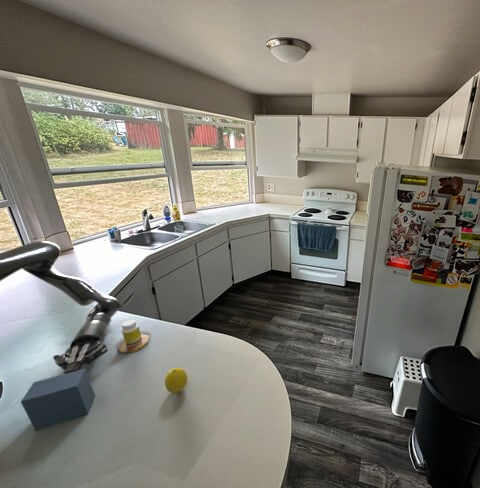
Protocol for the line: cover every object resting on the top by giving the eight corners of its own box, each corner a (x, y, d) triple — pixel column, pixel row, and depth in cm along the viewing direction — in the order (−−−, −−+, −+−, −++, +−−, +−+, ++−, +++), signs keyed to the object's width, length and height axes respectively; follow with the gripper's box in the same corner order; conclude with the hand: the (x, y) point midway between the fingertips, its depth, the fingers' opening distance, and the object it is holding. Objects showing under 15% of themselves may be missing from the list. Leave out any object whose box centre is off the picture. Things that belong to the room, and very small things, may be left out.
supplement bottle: (144, 340, 91) (139, 321, 88) (129, 348, 87) (124, 328, 84) (137, 335, 93) (132, 317, 90) (123, 343, 89) (117, 323, 87)
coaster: (115, 356, 85) (115, 354, 84) (121, 339, 92) (121, 338, 92) (147, 348, 89) (147, 346, 88) (150, 333, 96) (150, 331, 96)
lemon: (162, 396, 72) (157, 375, 69) (177, 380, 77) (173, 360, 74) (179, 401, 70) (174, 379, 68) (193, 384, 75) (189, 364, 73)
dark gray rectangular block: (35, 431, 62) (20, 401, 58) (47, 410, 67) (33, 381, 63) (88, 414, 66) (76, 386, 63) (95, 395, 71) (85, 368, 68)
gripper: (60, 332, 80) (32, 372, 66) (112, 322, 86) (96, 356, 71) (68, 351, 83) (41, 393, 68) (118, 339, 88) (103, 376, 74)
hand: (70, 374), depth 70 cm, fingers closed
